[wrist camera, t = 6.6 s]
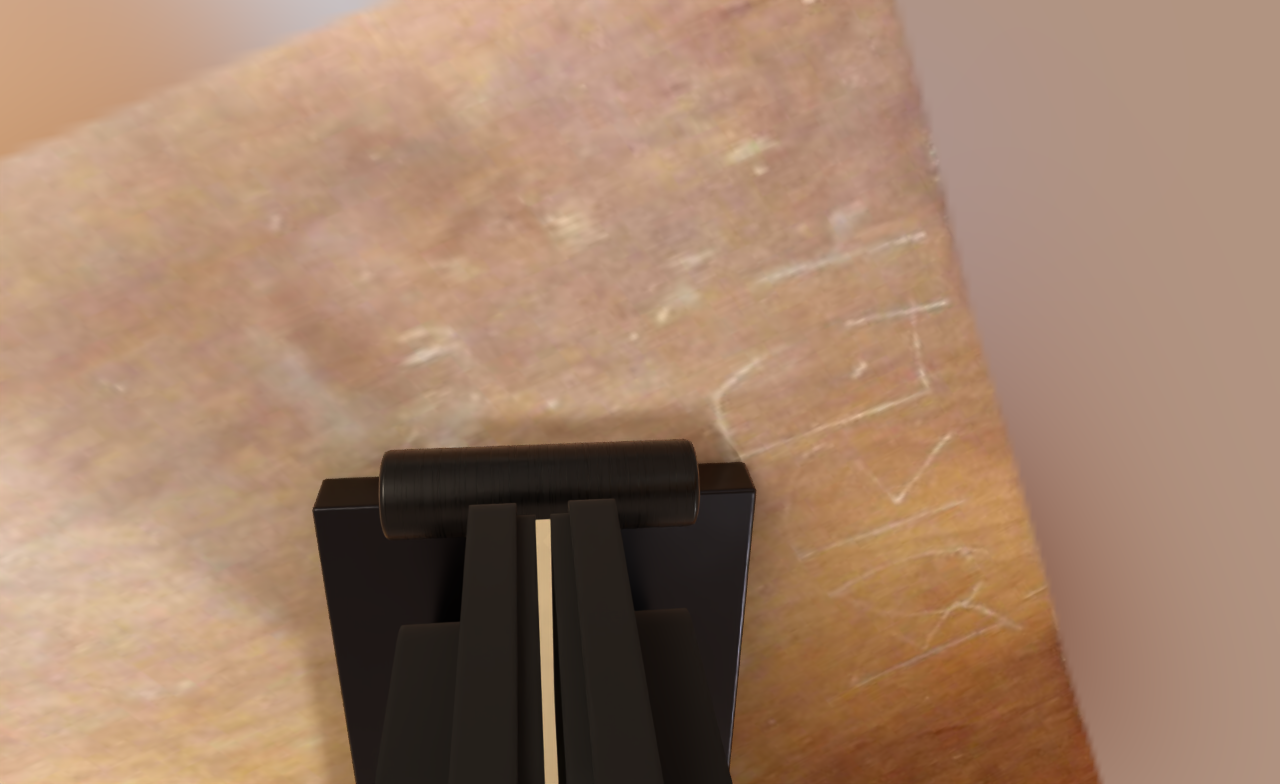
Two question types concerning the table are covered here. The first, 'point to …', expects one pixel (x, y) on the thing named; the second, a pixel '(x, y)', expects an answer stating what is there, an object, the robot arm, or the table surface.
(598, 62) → the table surface
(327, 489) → the lever stand
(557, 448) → the lever handle
